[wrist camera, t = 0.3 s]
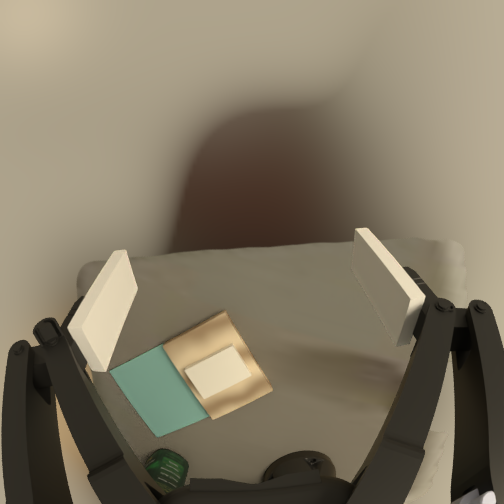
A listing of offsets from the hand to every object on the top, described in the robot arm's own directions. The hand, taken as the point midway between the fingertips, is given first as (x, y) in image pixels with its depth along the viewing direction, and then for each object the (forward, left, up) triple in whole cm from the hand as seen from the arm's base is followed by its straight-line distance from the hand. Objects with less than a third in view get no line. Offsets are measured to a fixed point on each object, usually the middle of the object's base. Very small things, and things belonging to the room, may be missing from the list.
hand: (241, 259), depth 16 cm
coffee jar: (-29, +33, -33) cm, 55 cm away
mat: (-14, +24, -33) cm, 43 cm away
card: (-14, +11, -30) cm, 36 cm away
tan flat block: (-14, +11, -33) cm, 38 cm away
